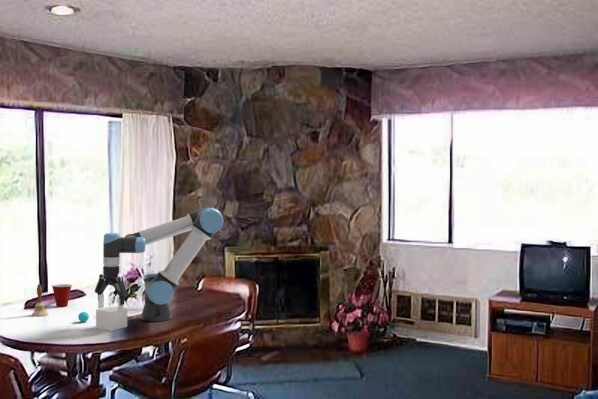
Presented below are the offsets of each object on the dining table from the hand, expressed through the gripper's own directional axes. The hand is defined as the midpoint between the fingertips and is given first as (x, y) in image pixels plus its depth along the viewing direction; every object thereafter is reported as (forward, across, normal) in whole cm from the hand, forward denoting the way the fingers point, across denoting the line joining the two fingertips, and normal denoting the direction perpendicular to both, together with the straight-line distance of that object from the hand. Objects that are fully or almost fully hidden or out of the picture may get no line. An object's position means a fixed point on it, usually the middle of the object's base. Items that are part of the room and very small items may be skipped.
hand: (110, 309), depth 334 cm
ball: (+6, -20, 0) cm, 21 cm away
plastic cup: (+9, -60, +20) cm, 63 cm away
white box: (+8, 0, 0) cm, 9 cm away
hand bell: (+9, -51, -2) cm, 51 cm away
